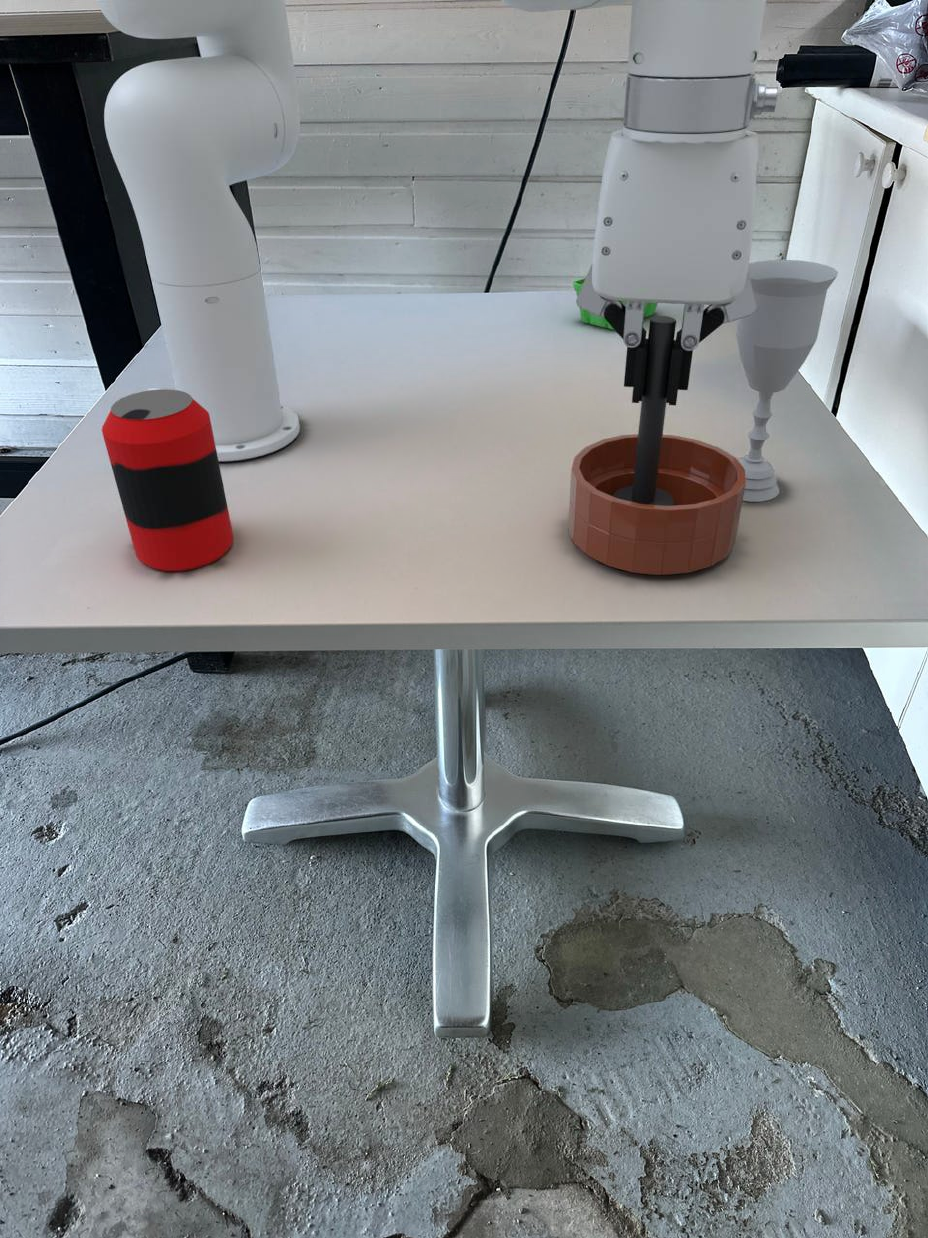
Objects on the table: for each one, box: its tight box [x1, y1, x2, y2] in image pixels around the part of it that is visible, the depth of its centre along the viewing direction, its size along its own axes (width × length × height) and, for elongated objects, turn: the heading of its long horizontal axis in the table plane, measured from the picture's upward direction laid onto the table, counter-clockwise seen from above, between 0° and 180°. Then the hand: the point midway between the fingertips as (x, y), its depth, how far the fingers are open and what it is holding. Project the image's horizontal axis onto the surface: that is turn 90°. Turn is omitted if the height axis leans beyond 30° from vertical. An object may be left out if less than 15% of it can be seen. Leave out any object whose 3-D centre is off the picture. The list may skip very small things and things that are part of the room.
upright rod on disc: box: [613, 315, 677, 506], centre depth 66 cm, size 5×5×16 cm
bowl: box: [567, 433, 746, 576], centre depth 69 cm, size 13×13×6 cm
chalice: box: [735, 259, 839, 503], centre depth 72 cm, size 7×7×18 cm
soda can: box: [101, 388, 234, 572], centre depth 67 cm, size 8×8×12 cm
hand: (654, 395), depth 65 cm, fingers closed on upright rod on disc
